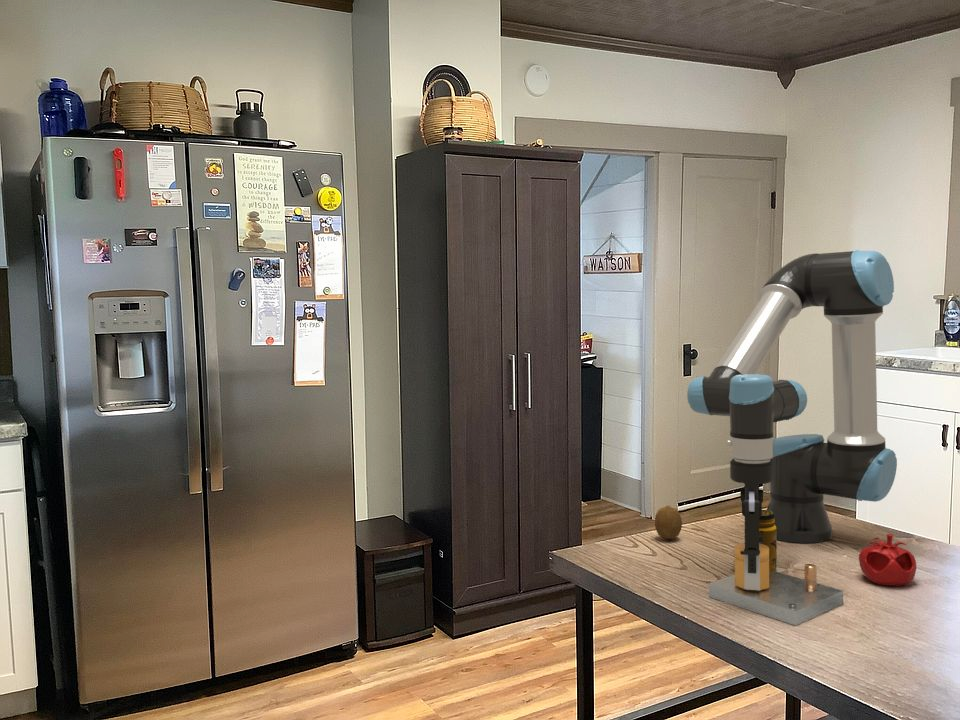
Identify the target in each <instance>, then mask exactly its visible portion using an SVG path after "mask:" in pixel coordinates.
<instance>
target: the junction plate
mask: <svg viewBox="0 0 960 720" xmlns="http://www.w3.org/2000/svg"><path fill="white" fill-rule="evenodd" d="M708 597H709V598H711V599H714V600H717V601H720V602H723V603H726V604H729V605H732V606H734V607H735V606H736V607H739V608H741V609H744V610H746V611H750V612H753V613H756V614H759V615H762V616H766V617H768V618H771V619H774V620H776V621H780V622H783V623H785V624H789V625H792V626H798V625H800V624H802V623H805V622H807V621H809V620H812V619H813V618H816V617H818V616H820V615H822V614H824V613H827V612H829V611H831V610H833V609H835V608H838V607H840V606H842V605H844V590H843V589H839V588H835V587H833V586H829V585H826V584H822V583H817V565H816V564H814V563H813V564H812V563H805V564H804V578H800V577H796V576H793V575H789V574H785V573H782V572H775V571H772V570H769V588H767V589H763V590H747V589H743V588H741V587H738V586H736V585H735V574H732V575H729V576H727V577H726V576H725V577H724V578H721V579H717V580H716V581H712V582H710V583H708Z"/></svg>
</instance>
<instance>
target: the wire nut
mask: <svg viewBox="0 0 960 720" xmlns="http://www.w3.org/2000/svg"><path fill="white" fill-rule="evenodd" d="M744 549H745V541H744V542H739V543H736V544H735V545H734V567H735V571H734V575H735V585H736V586H738V587H741V588H743V589H744V555H741V551H744ZM759 550H760V590H763V589H767V588H769V547H768V546H766V545H764V544H760V543H759Z"/></svg>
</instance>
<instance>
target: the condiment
mask: <svg viewBox="0 0 960 720" xmlns="http://www.w3.org/2000/svg"><path fill="white" fill-rule="evenodd" d="M774 517H775V516H774V513H773V512H771V511H768V510H767V509H762V516H761V517H759V537H763V542H759V543H760V544H764V545H766V546H768V547H769V570H772V571H775V572H779V573H782V572H785V571H786V569H784V568H781V567H777V564H778V563H777V558H778V557H777V548H778V546H777V538H776V535H777V531H776V526H775V524H774V523H775V520H774ZM729 569H730V570H732V571H734V572H735V566H733V567H730V568H729Z"/></svg>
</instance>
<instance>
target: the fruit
mask: <svg viewBox="0 0 960 720" xmlns="http://www.w3.org/2000/svg"><path fill="white" fill-rule="evenodd" d="M682 525H683V521H682V516H681V513H680V512H679V510H678V509H676V508H675V507H672V506H670V505H666V506H665V507H661V508H659V509H658V510H657V511H656V513H655V516H654V527H655V530H656V532H657V534H658V536H660V537H661V538H663V539H664V540H666V541H671V540H673V539H675V538H677V537H678V536H679V535H680V533H681V531H682V527H683V526H682Z"/></svg>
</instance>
